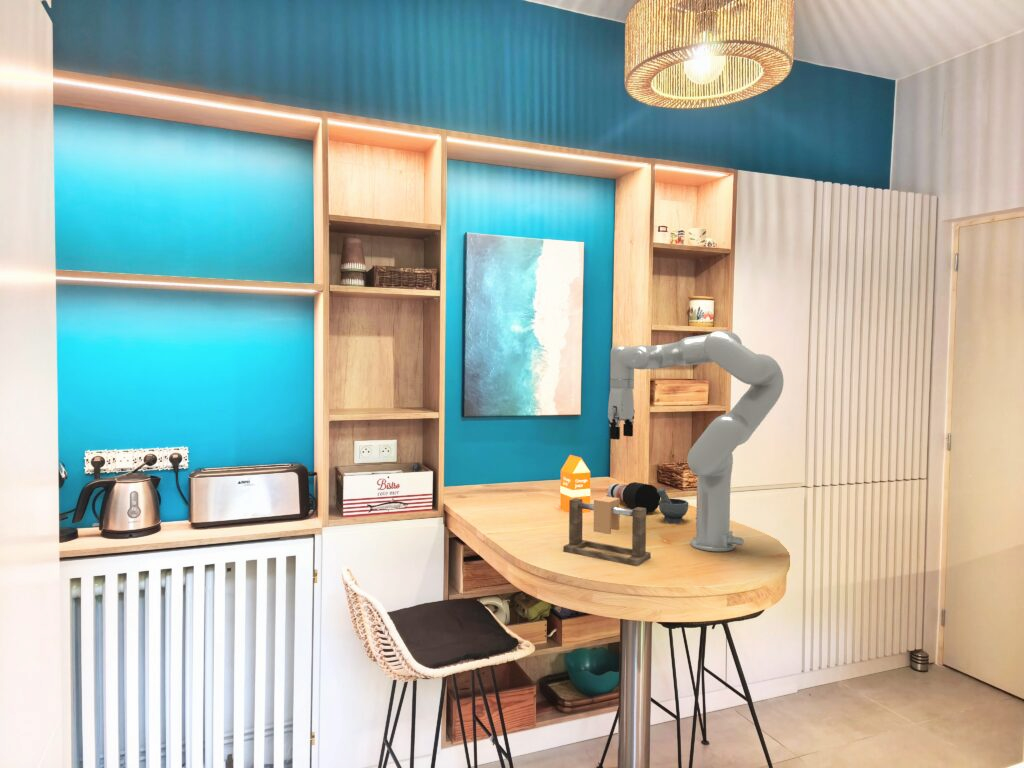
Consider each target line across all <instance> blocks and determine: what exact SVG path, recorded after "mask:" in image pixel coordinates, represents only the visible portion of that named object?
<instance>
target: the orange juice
mask: <svg viewBox="0 0 1024 768" xmlns="http://www.w3.org/2000/svg"><path fill="white" fill-rule="evenodd" d="M559 492H560V510H562V511H565V512H567V513H569V500H571V499H574V498H579V499H583V503H589V504H591V470H590V469H589V468H588V466H587V465H586V463H585V462H584V460H583V458H582V457H580V456H576V455H572V454H569V456H568V457H567V459H566V460H565V463H564V464H563V466H562V468H561V469H560V491H559ZM590 512H591V510H587V509H582V514H583V513H584V514H585V513H590Z"/></svg>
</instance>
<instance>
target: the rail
mask: <svg viewBox="0 0 1024 768" xmlns="http://www.w3.org/2000/svg"><path fill="white" fill-rule="evenodd" d="M578 508H581V509H587V510H590V511H593V512H594V503H590V504H589V503H583V502H579V503H578ZM611 513H613V514H619V515H621V516H626V517H632V518H633V509H630V508H622V507H620V508H617V507H614V508H612V509H611Z"/></svg>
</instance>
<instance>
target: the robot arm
mask: <svg viewBox="0 0 1024 768" xmlns="http://www.w3.org/2000/svg"><path fill="white" fill-rule="evenodd" d="M709 363H710V364H711V363H714V364H716V365H717V366H719V367H720V368H721V369H723V370H724V371H726V372H727V373H729V374H730V375H731V376H732V377H734V378H736V379H737V380H738V381H740V382H742V383H743V384H746V385H750V386H749V388H748V389H747V391H746V392H745V393H743V395H742V396H741V397H740V398H739V400H738V402H737V403H736V404H735V405H734V407H732V409H731V410H730V411H728V412H727V413H725V414H722V415H719V416H717V417H716V418H714V419H713V421H711V423H709V424H708V426H707V427H706V428H705V430H704V431H703V432H702V434H701V435H700V436H699V437H698V439H697V440H696V441H695V443H694V444H693V445H692V447H691V448H690V449H689V452H688V454H687V458H686V459H687V460H686V461H687V466H688V468H689V470H690V471H691V472H692V474H694V475H696V476H697V482H696V515H695V516H696V519H695V520H696V523H695V524H696V526H695V528H696V529H695V537H693V538H691V539H690V545H691V546H692V547H694V548H695V549H698V550H702V551H707V552H715V553H716V552H718V553H719V552H720V553H721V552H730V551H732V550H734V549H735V547H736V546H739V547H740V546H742V547H743V546H744V545H745V543H744V542H745V539H744V538H742V537H738V536H734V535H733V531H731V530H730V527H731V526H730V521H731V515H730V514H731V513H730V512H731V486H732V485H731V482H732V472H733V464H734V456H733V452H734V451H735V450H736V448H737V447H738V446H741V445H743V444H745V443H746V442H748V440H749V439H750V438H751V437H752V435H753V434H754V432H755V431H756V430H757V428H759V426H760V425H761V423H762V422H763V421H764V419H766V417H767V416H768V414H769V413H770V412H771V410H772V409H773V408H774V407H775V405H776V404H777V402H778V401H779V398H780V397H781V394H782V392H783V389H784V374H783V371H782V369H781V366H780V365H779V362H778V361H776V360H775V359H774V358H773V357H772V356H770V355H767V354H764V353H763V354H761V353H755V352H754V351H752V350H750V349H749V348H747V347H746V346H744V345H743V343H742V340H741V338H740V337H739V335H737V334H736V333H735V332H732V331H725V330H716V331H713V332H711V333H707V334H702V335H694V336H688V337H684V338H682V339H681V340H679V341H677V342H671V343H666V344H659V345H658V344H657V345H645V344H644V345H634V346H623V345H621V346H620V345H618V346H617V345H616V346H613V347H612V348H611V350H610V371H609V372H610V375H609V377H610V378H609V379H610V380H609V381H610V382H609V384H610V386H609V387H610V391H609V397H608V407H607V418H608V423H609V425H608V426H609V439H611V440H617V441H618V440H620V439H621V427H620V424H621V421H623V422H624V423H623V427H622V428H623V431H622V433H623V437H631V438H632V437H634V424H635V423H634V422H635V421H634V419H635V413H636V412H635V411H636V410H635V403H634V390H635V389H634V388H635V369H636V370H657V369H665V368H672V367H679V366H680V367H681V366H685V367H687V366H695V365H700V364H709ZM735 545H736V546H735Z"/></svg>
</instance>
